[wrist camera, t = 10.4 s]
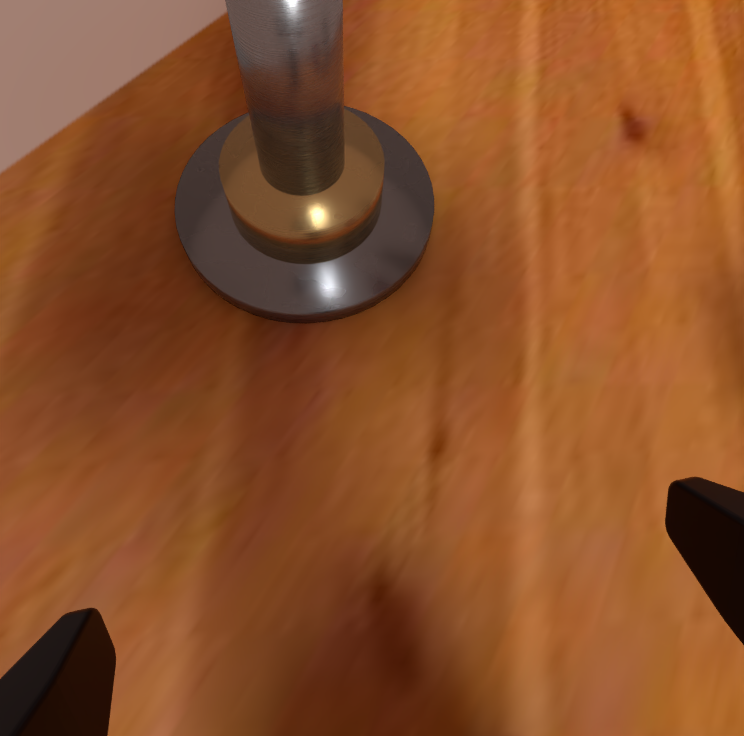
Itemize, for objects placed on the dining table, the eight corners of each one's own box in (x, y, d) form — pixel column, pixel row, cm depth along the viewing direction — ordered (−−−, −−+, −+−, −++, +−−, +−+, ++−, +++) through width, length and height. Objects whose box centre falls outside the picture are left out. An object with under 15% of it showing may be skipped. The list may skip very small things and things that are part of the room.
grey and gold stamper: (402, 166, 28) (436, -126, 17) (349, 284, 25) (348, 31, 14) (268, 124, 28) (215, -183, 17) (204, 234, 26) (93, -44, 15)
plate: (482, 210, 28) (486, 197, 27) (305, 375, 25) (303, 366, 24) (308, 81, 31) (307, 65, 30) (128, 212, 27) (120, 198, 26)
